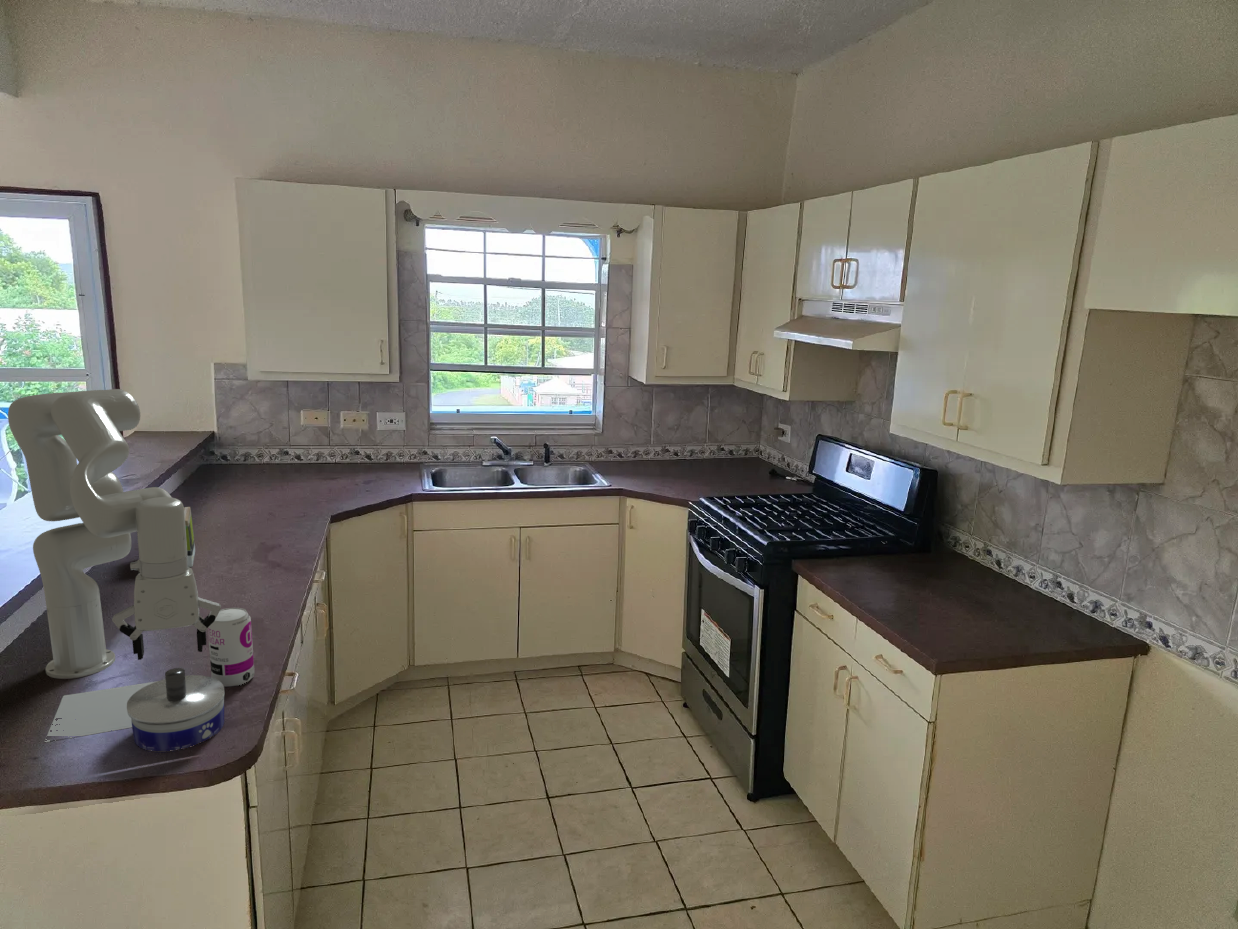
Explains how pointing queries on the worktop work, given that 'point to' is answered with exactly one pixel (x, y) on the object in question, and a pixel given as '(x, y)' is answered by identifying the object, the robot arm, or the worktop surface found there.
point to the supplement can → (231, 647)
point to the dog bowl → (179, 731)
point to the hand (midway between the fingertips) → (171, 652)
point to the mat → (94, 712)
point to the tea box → (189, 536)
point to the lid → (175, 698)
